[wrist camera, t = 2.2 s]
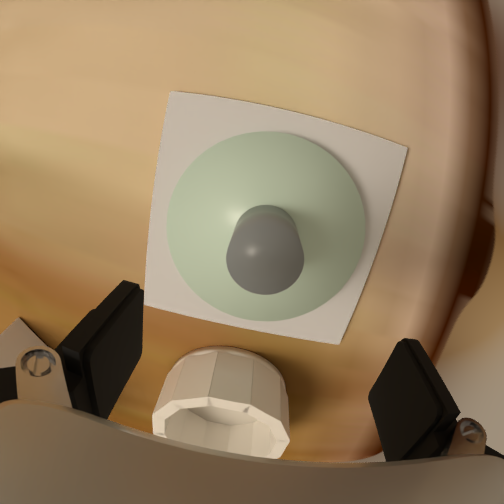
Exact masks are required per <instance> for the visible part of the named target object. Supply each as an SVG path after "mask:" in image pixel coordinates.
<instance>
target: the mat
mask: <svg viewBox="0 0 504 504" xmlns="http://www.w3.org/2000/svg"><path fill="white" fill-rule="evenodd" d="M260 131H266V132H280V133H286V134H291V135H294V136H297V137H301V138H304V139H306V140H308V141H310V142H312V143H314V144H316V145H318V146H319V147H321V148H322V149H324V150H325V151H327V152H328V153H329V154H331V155H332V156H333V157H334V158H335V159H336V160H337V161H338V162H339V163H340V164H341V165H342V166H343V167H344V169H345V170H346V171H347V172H348V174H349V175H350V177H351V179H352V180H353V182H354V183H355V186H356V188H357V190H358V192H359V194H360V197H361V201H362V204H363V208H364V215H365V239H364V246H363V249H362V253H361V257H360V259H359V262H358V264H357V266H356V268H355V270H354V272H353V274H352V275H351V277H350V279H349V280H348V281H347V282H346V284H345V285H344V286H343V288H342V289H341V290H340V291H339V292H338V293H337V294H336V295H335V296H334V297H332V298H331V299H330V300H329V301H327V302H326V303H325V304H323V305H321V306H320V307H318V308H317V309H315V310H313V311H311V312H308V313H306V314H304V315H301V316H298V317H295V318H291V319H286V320H281V321H269V322H268V321H253V320H246V319H242V318H238V317H234V316H232V315H229V314H227V313H224V312H222V311H220V310H218V309H216V308H214V307H213V306H211V305H210V304H208V303H207V302H205V301H204V300H202V299H201V298H200V297H199V296H198V295H197V294H196V293H195V292H194V291H193V290H192V289H191V288H190V287H189V286H188V285H187V284H186V282H185V281H184V279H183V278H182V276H181V275H180V273H179V272H178V270H177V268H176V266H175V264H174V261H173V259H172V256H171V253H170V250H169V245H168V241H167V230H166V224H167V212H168V207H169V202H170V199H171V196H172V194H173V191H174V189H175V187H176V185H177V183H178V181H179V179H180V177H181V176H182V175H183V173H184V172H185V170H186V169H187V168H188V166H189V165H190V164H191V163H192V162H193V161H194V160H195V159H196V158H197V157H198V156H200V155H201V154H202V153H203V152H205V151H206V150H207V149H209V148H210V147H212V146H214V145H215V144H217V143H219V142H221V141H223V140H226V139H228V138H231V137H233V136H237V135H241V134H245V133H251V132H260ZM407 149H408V148H407V147H405V146H402V145H400V144H397V143H394V142H392V141H389V140H386V139H383V138H380V137H378V136H375V135H372V134H369V133H366V132H363V131H360V130H357V129H354V128H350V127H347V126H344V125H341V124H337V123H334V122H331V121H327V120H323V119H320V118H316V117H312V116H309V115H305V114H301V113H297V112H293V111H289V110H284V109H280V108H275V107H271V106H266V105H261V104H256V103H251V102H246V101H240V100H235V99H229V98H223V97H216V96H209V95H202V94H194V93H186V92H177V91H170V95H169V99H168V104H167V109H166V114H165V119H164V125H163V130H162V136H161V142H160V148H159V154H158V160H157V167H156V174H155V181H154V189H153V197H152V205H151V214H150V224H149V234H148V246H147V259H146V274H145V294H144V305H147V306H151V307H155V308H159V309H163V310H166V311H170V312H174V313H178V314H183V315H187V316H191V317H195V318H199V319H204V320H208V321H213V322H217V323H222V324H226V325H231V326H236V327H241V328H245V329H250V330H255V331H261V332H266V333H271V334H277V335H282V336H288V337H293V338H299V339H305V340H312V341H318V342H324V343H331V344H338V345H339V344H340V341H341V339H342V337H343V335H344V332H345V330H346V328H347V326H348V323H349V321H350V319H351V316H352V314H353V312H354V309H355V307H356V304H357V302H358V300H359V297H360V295H361V292H362V290H363V287H364V285H365V282H366V279H367V277H368V274H369V272H370V269H371V266H372V263H373V261H374V258H375V255H376V252H377V250H378V247H379V244H380V241H381V238H382V235H383V232H384V229H385V226H386V223H387V220H388V217H389V213H390V210H391V207H392V204H393V200H394V197H395V194H396V190H397V187H398V183H399V180H400V176H401V172H402V168H403V165H404V161H405V157H406V153H407Z"/></svg>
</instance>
